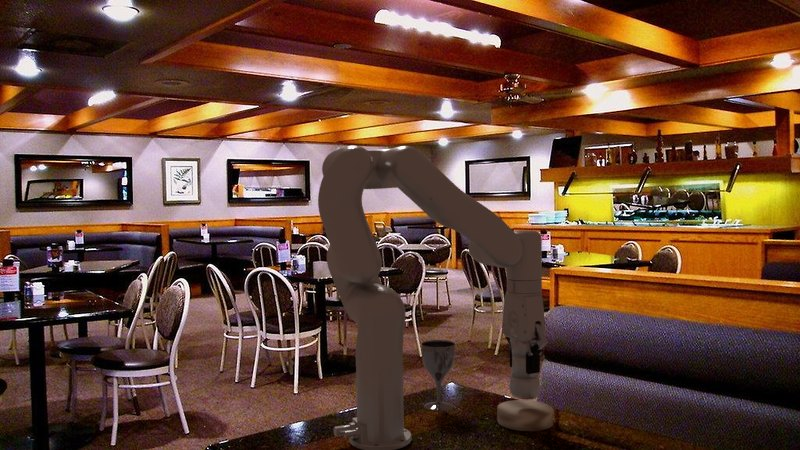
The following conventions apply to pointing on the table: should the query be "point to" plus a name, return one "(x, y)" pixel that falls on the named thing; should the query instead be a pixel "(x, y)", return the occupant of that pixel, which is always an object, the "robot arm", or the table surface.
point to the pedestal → (525, 415)
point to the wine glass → (438, 367)
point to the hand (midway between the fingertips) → (524, 369)
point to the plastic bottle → (522, 370)
